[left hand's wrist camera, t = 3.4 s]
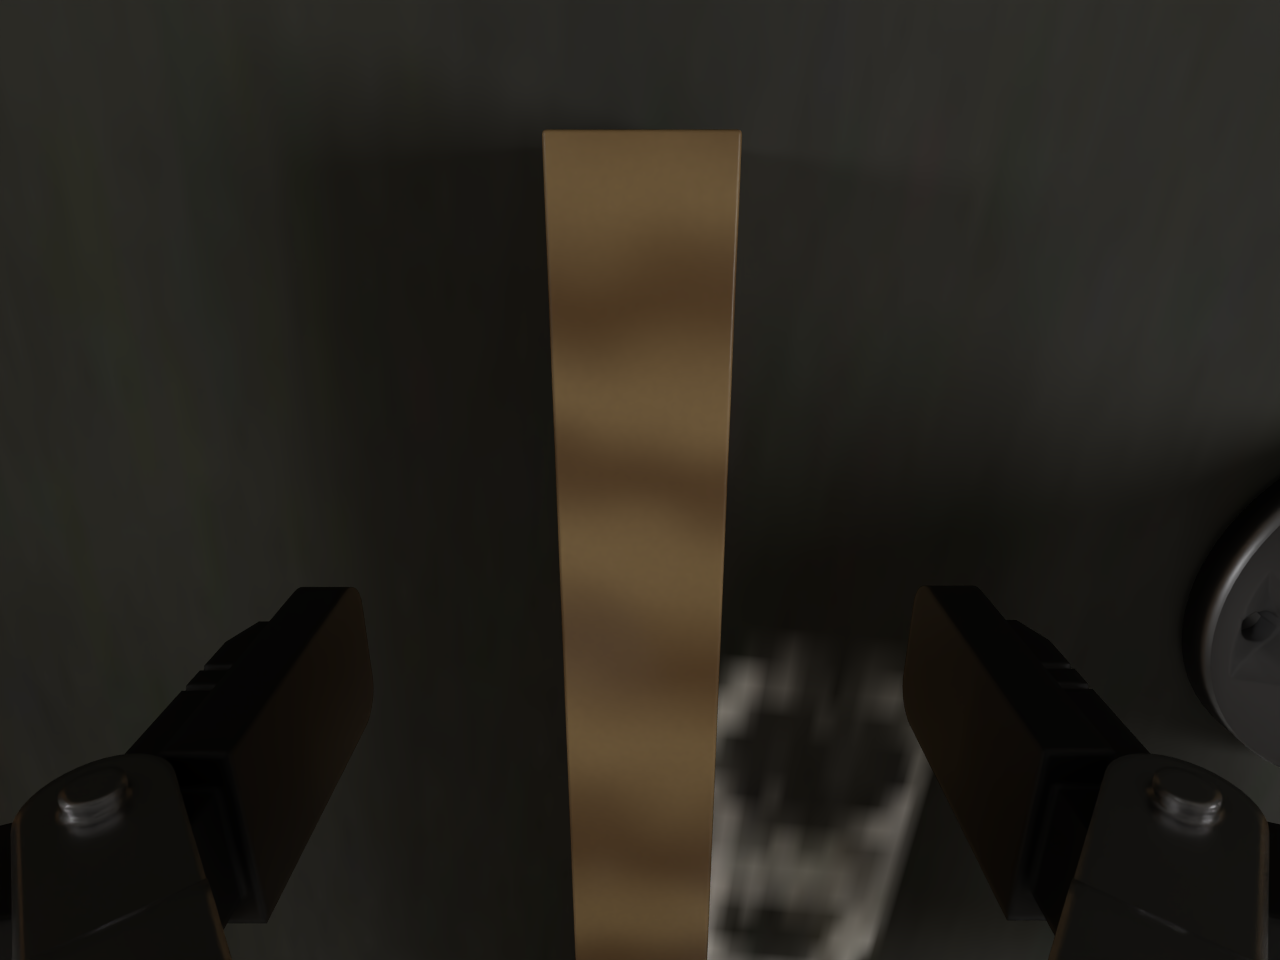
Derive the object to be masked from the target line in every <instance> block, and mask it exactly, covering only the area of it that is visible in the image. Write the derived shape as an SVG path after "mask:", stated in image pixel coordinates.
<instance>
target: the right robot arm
mask: <svg viewBox="0 0 1280 960" xmlns="http://www.w3.org/2000/svg"><path fill="white" fill-rule="evenodd" d="M1182 648H1183V658H1184V663H1185V668H1186V672H1187V675H1188V678H1189V681H1190V683H1191V685H1192V687H1193V689H1194V691H1195V693H1196V695H1197V697H1198V698H1199V699H1200V701H1201V702H1202V704H1203V705H1204V707H1205V708H1206V709H1207V710H1208V711H1209V712H1210V713H1211V714H1212V716H1213V717H1215V718H1216V719H1217V720H1218V721H1219V722H1220V723H1221V724H1222V725H1223V726H1224V727H1225V728H1226V729H1227V730H1228V731H1230V732H1231V733H1232V734H1233V735H1234V736H1235V737H1236V738H1237V739H1238V740H1239V741H1240V742H1242V743H1243V744H1244V745H1245V746H1246V747H1247V748H1248V749H1250V750H1251V751H1252V752H1254V753H1255V754H1257V755H1258V756H1260V757H1261V758H1263V759H1265V760H1267V761H1269V762H1271V763H1273V764H1274V765H1276V766H1278V767H1280V480H1278V481H1277V482H1275V483H1274V484H1273V485H1271V486H1270V487H1269V488H1268V489H1267V490H1265V491H1264V492H1263V493H1262V494H1261V495H1259V496H1258V497H1257V498H1256V499H1255V500H1254V501H1253V502H1252V503H1251V504H1250V505H1249V506H1248V507H1247V508H1245V509H1244V510H1243V511H1242V512H1241V513H1240V514H1239V516H1238V517H1237V518H1236V519H1235V520H1234V521H1233V522H1232V524H1231V525H1230V526H1229V527H1228V528H1227V529H1226V531H1225V532H1224V533H1223V535H1222V536H1221V537H1220V539H1219V540H1218V541H1217V543H1216V544H1215V545H1214V547H1213V549H1212V550H1211V552H1210V553H1209V555H1208V557H1207V558H1206V560H1205V562H1204V564H1203V566H1202V567H1201V569H1200V571H1199V573H1198V575H1197V577H1196V580H1195V582H1194V585H1193V587H1192V590H1191V592H1190V596H1189V599H1188V603H1187V606H1186V610H1185V616H1184V621H1183V632H1182Z"/></svg>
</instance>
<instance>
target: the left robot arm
mask: <svg viewBox="0 0 1280 960" xmlns="http://www.w3.org/2000/svg"><path fill="white" fill-rule="evenodd" d="M903 700H904V707H905V711H906V715H907V719H908V721H909V724H910V726H911V728H912V730H913V732H914V734H915V736H916V738H917V740H918V742H919V744H920V746H921V748H922V750H923V752H924V754H925V756H926V758H927V760H928V762H929V764H930V766H931V768H932V770H933V772H934V774H935V776H936V778H937V780H938V782H939V784H940V786H941V788H942V790H943V792H944V794H945V796H946V798H947V800H948V802H949V804H950V806H951V808H952V810H953V812H954V814H955V816H956V818H957V820H958V822H959V824H960V826H961V828H962V830H963V832H964V834H965V836H966V838H967V840H968V842H969V844H970V847H971V849H972V851H973V853H974V855H975V857H976V859H977V861H978V863H979V865H980V867H981V869H982V871H983V873H984V875H985V877H986V879H987V881H988V883H989V885H990V887H991V889H992V891H993V893H994V895H995V897H996V899H997V901H998V903H999V905H1000V907H1001V909H1002V911H1003V913H1004V915H1005V917H1006V919H1007V920H1046V921H1047V922H1048V924H1049V926H1050V928H1051V930H1052V932H1053V933H1054V935H1055V938H1054V941H1053V945H1052V948H1051V951H1050V955H1049V958H1048V960H1280V824H1275V823H1271V822H1267V821H1266V818H1265V816H1264V815H1263V813H1262V812H1261V810H1260V809H1259V807H1258V806H1257V805H1256V804H1255V803H1254V802H1253V801H1252V800H1251V799H1250V798H1249V797H1248V796H1247V795H1246V794H1245V793H1243V792H1242V791H1241V790H1240V789H1238V788H1237V787H1236V786H1234V785H1233V784H1231V783H1230V782H1228V781H1227V780H1225V779H1223V778H1222V777H1220V776H1218V775H1217V774H1215V773H1213V772H1210V771H1208V770H1206V769H1204V768H1202V767H1200V766H1197V765H1195V764H1192V763H1189V762H1186V761H1183V760H1180V759H1177V758H1172V757H1168V756H1164V755H1156V754H1150V753H1149V752H1148V751H1147V750H1146V748H1145V747H1144V746H1143V745H1142V744H1141V743H1140V742H1139V741H1138V739H1137V738H1136V737H1135V736H1134V735H1133V734H1132V733H1131V732H1130V730H1129V729H1128V728H1127V727H1126V726H1125V725H1124V724H1123V723H1122V722H1121V720H1120V719H1119V718H1118V717H1117V716H1116V715H1115V714H1114V713H1113V711H1112V710H1111V709H1110V708H1109V707H1108V706H1107V705H1106V704H1105V702H1104V701H1103V700H1102V699H1101V698H1100V697H1099V696H1098V695H1097V694H1096V692H1095V691H1094V690H1093V689H1088V683H1087V682H1086V681H1085V680H1084V679H1083V678H1082V677H1081V676H1080V674H1079V673H1078V672H1077V671H1076V670H1075V669H1071V668H1070V663H1069V662H1068V661H1067V660H1066V659H1065V658H1064V657H1063V655H1062V654H1061V653H1060V652H1059V651H1058V650H1057V649H1056V648H1055V646H1054V645H1053V644H1052V643H1051V642H1050V641H1049V640H1048V639H1046V638H1044V637H1043V636H1041V635H1039V634H1038V633H1036V632H1035V631H1033V630H1031V629H1030V628H1028V627H1026V626H1025V625H1023V624H1022V623H1020V622H1018V621H1017V620H1005V619H1004V618H1003V616H1002V615H1001V614H1000V613H999V612H998V610H997V609H996V608H995V607H994V606H993V604H992V603H991V602H990V601H989V600H988V598H987V597H986V596H985V595H984V594H983V592H982V591H981V590H980V589H979V588H978V587H976V586H921V587H920V588H919V589H918V591H917V593H916V595H915V599H914V604H913V611H912V618H911V625H910V632H909V639H908V646H907V654H906V661H905V668H904V675H903ZM372 701H373V676H372V669H371V662H370V655H369V648H368V641H367V635H366V628H365V621H364V614H363V607H362V601H361V597H360V595H359V592H358V591H357V589H355V588H354V587H300V588H298V589H297V590H296V591H295V592H294V593H293V594H292V595H291V597H290V598H289V599H288V600H287V601H286V602H285V604H284V605H283V606H282V607H281V608H280V610H279V611H278V612H277V613H276V614H275V615H274V617H273V618H272V619H271V620H270V621H269V622H258V623H256V624H254V625H253V626H251V627H249V628H248V629H246V630H244V631H243V632H241V633H240V634H238V635H236V636H235V637H233V638H231V639H230V640H228V641H227V642H225V643H224V645H223V646H222V647H221V648H220V649H219V650H218V651H217V652H216V653H215V655H214V656H213V657H212V658H211V659H210V660H209V661H208V662H207V663H206V664H205V666H204V671H199V672H198V673H197V674H196V676H195V677H194V678H193V679H192V680H191V681H190V682H189V683H188V684H187V686H186V691H181V692H180V693H179V694H178V696H177V697H176V698H175V699H174V700H173V701H172V702H171V703H170V704H169V706H168V707H167V708H166V709H165V710H164V711H163V712H162V713H161V714H160V716H159V717H158V718H157V719H156V720H155V721H154V722H153V723H152V724H151V726H150V727H149V728H148V729H147V730H146V731H145V732H144V733H143V734H142V736H141V737H140V738H139V739H138V740H137V741H136V742H135V743H134V744H133V746H132V747H131V748H130V749H129V750H128V751H127V752H126V753H125V754H124V755H116V756H112V757H108V758H103V759H100V760H97V761H94V762H91V763H88V764H85V765H83V766H80V767H78V768H76V769H74V770H72V771H70V772H67V773H65V774H63V775H62V776H60V777H58V778H57V779H55V780H53V781H52V782H50V783H49V784H47V785H46V786H44V787H43V788H42V789H40V790H39V791H38V792H37V793H35V794H34V795H33V796H32V797H31V798H30V799H29V800H28V801H27V802H26V803H25V804H24V805H23V806H22V807H21V809H20V810H19V812H18V813H17V815H16V816H15V818H14V821H13V823H9V824H5V825H1V826H0V960H232V958H231V955H230V951H229V948H228V945H227V941H226V938H225V934H224V931H223V930H224V928H225V926H226V925H227V923H267V922H268V920H269V918H270V916H271V914H272V912H273V910H274V908H275V906H276V904H277V902H278V900H279V898H280V896H281V894H282V892H283V890H284V888H285V886H286V884H287V882H288V880H289V878H290V876H291V874H292V872H293V870H294V868H295V866H296V864H297V862H298V860H299V858H300V856H301V854H302V852H303V850H304V848H305V846H306V844H307V842H308V840H309V838H310V836H311V834H312V832H313V830H314V829H315V827H316V825H317V823H318V821H319V819H320V817H321V815H322V813H323V811H324V809H325V807H326V805H327V803H328V801H329V799H330V797H331V795H332V793H333V791H334V789H335V787H336V785H337V783H338V781H339V779H340V777H341V775H342V773H343V771H344V769H345V767H346V765H347V763H348V761H349V759H350V757H351V755H352V753H353V751H354V749H355V747H356V745H357V743H358V741H359V739H360V737H361V735H362V733H363V731H364V729H365V727H366V725H367V723H368V720H369V717H370V713H371V708H372Z"/></svg>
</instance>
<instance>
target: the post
mask: <svg viewBox="0 0 1280 960" xmlns="http://www.w3.org/2000/svg"><path fill="white" fill-rule="evenodd" d="M741 145H742V133H741V131H740V130H544V131H543V133H542V146H543V171H544V195H545V220H546V245H547V269H548V294H549V318H550V343H551V368H552V392H553V417H554V441H555V466H556V491H557V515H558V540H559V564H560V589H561V613H562V638H563V663H564V687H565V712H566V736H567V761H568V786H569V810H570V835H571V859H572V884H573V909H574V933H575V958H576V960H707V948H708V925H709V901H710V877H711V854H712V830H713V807H714V783H715V759H716V736H717V712H718V688H719V665H720V641H721V618H722V594H723V570H724V547H725V523H726V499H727V476H728V452H729V429H730V405H731V381H732V358H733V334H734V310H735V287H736V263H737V240H738V216H739V192H740V169H741Z"/></svg>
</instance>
